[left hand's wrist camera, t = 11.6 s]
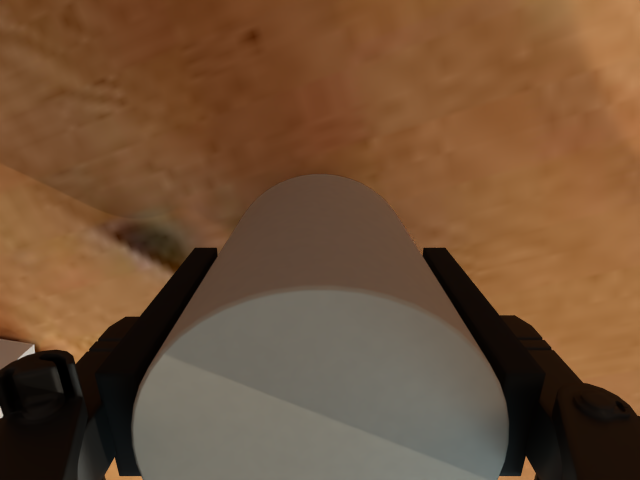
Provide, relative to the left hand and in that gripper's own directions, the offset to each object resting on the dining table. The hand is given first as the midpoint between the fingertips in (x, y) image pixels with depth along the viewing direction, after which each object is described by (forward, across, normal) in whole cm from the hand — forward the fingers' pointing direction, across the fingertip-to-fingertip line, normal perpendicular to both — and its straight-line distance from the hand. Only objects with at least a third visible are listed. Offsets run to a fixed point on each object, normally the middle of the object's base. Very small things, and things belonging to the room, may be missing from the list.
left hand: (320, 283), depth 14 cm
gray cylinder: (+2, 0, 0) cm, 2 cm away
